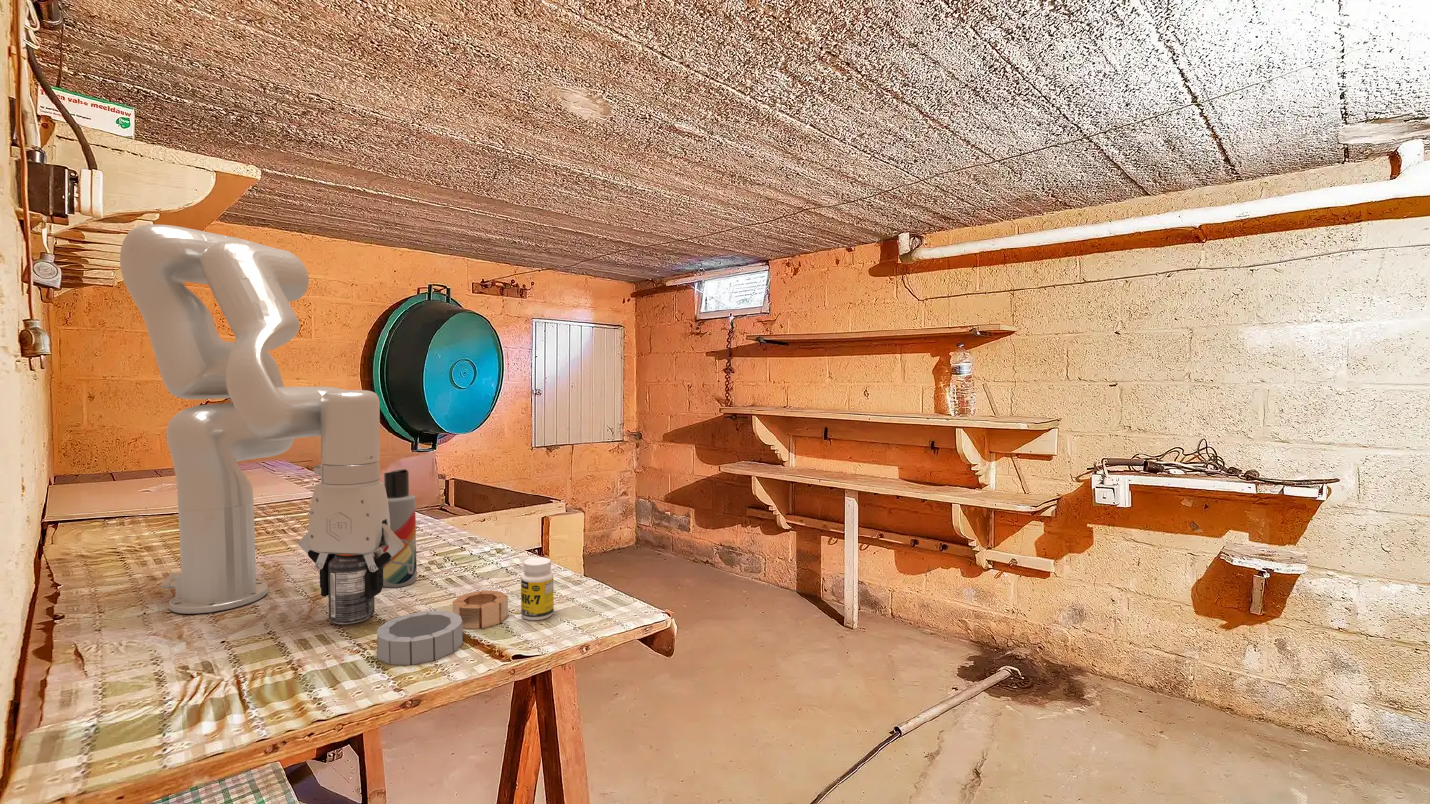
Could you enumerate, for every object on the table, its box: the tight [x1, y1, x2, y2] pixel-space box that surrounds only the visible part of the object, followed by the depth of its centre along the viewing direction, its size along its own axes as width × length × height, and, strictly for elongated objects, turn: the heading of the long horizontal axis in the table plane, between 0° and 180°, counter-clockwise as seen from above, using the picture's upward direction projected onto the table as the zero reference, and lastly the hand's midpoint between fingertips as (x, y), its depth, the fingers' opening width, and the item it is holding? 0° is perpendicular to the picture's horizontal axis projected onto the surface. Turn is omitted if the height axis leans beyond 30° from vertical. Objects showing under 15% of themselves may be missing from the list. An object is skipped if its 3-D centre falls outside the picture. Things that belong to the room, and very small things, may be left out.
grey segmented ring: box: [376, 610, 464, 666], centre depth 86 cm, size 10×10×3 cm
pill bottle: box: [328, 554, 376, 625], centre depth 95 cm, size 6×6×11 cm
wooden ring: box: [452, 590, 509, 630], centre depth 96 cm, size 7×7×3 cm
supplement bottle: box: [520, 556, 555, 621], centre depth 97 cm, size 5×5×8 cm
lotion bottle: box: [382, 468, 418, 589], centre depth 111 cm, size 6×6×20 cm
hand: (351, 593), depth 95 cm, fingers closed on pill bottle, 6 cm apart
